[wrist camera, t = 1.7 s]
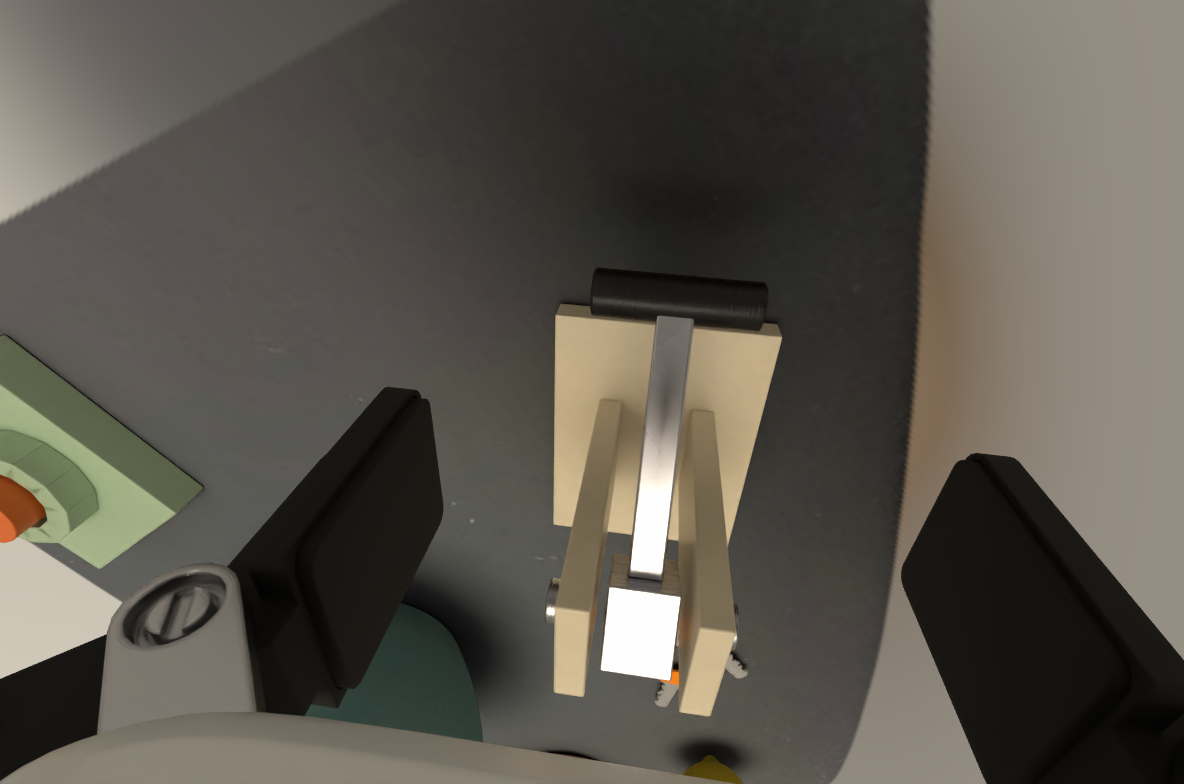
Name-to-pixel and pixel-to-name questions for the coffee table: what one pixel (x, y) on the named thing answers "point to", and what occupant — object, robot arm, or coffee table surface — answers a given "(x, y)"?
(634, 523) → the lever
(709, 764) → the lemon
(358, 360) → the coffee table surface
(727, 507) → the bracket
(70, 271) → the coffee table surface
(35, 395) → the button block
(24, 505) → the button
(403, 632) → the plant pot
